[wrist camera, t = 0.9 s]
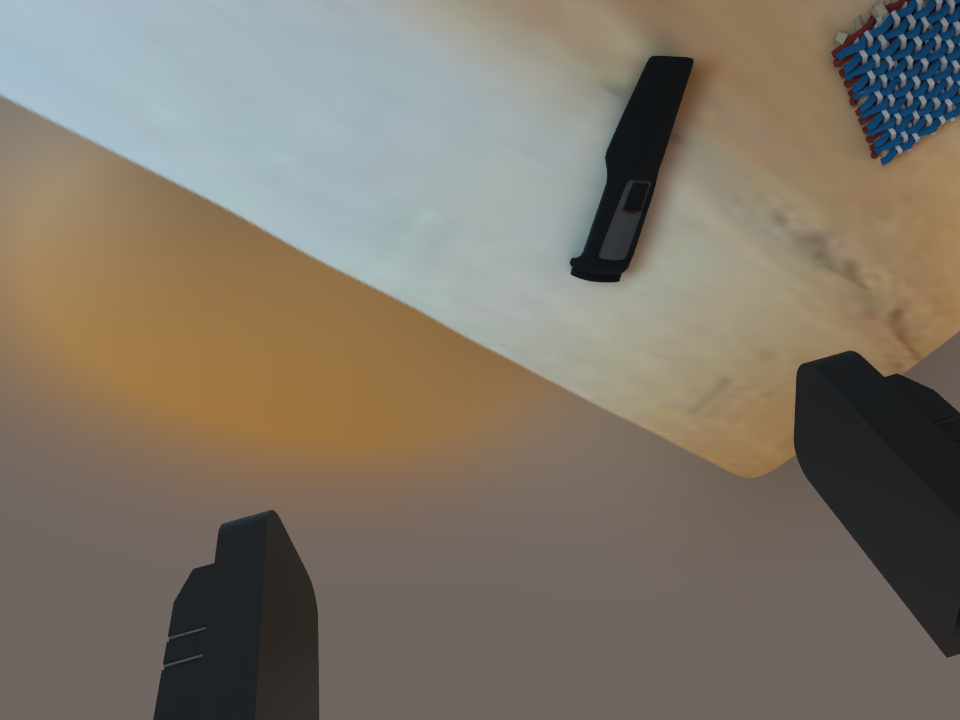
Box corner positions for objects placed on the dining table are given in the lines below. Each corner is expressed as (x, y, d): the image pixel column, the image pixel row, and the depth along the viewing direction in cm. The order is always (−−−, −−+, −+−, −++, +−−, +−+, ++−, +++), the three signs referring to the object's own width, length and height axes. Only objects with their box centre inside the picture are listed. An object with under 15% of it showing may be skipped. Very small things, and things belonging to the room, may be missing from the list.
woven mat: (1026, 49, 48) (1050, 62, 47) (867, 159, 51) (885, 174, 50) (998, -99, 41) (1025, -89, 40) (816, 37, 44) (836, 51, 43)
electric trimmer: (695, 41, 43) (721, 63, 41) (613, 270, 53) (630, 298, 50) (635, 33, 42) (658, 55, 40) (562, 269, 51) (577, 297, 49)
